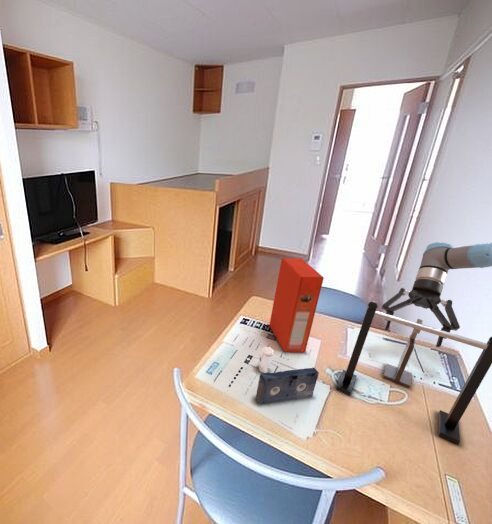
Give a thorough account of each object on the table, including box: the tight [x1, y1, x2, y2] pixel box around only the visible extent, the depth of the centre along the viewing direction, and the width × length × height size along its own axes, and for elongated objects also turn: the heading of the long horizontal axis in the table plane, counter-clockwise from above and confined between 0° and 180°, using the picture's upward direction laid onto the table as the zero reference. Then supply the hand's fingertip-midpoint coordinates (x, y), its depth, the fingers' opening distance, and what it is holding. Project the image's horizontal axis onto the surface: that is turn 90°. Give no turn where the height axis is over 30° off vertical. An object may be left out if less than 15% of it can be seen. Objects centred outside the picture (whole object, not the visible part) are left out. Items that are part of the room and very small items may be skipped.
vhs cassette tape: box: [255, 367, 320, 405], centre depth 94 cm, size 18×3×10 cm, turn 98°
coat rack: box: [335, 301, 492, 446], centre depth 88 cm, size 29×10×32 cm, turn 48°
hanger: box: [383, 318, 424, 389], centre depth 101 cm, size 7×8×22 cm
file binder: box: [268, 257, 325, 353], centre depth 118 cm, size 8×17×32 cm, turn 177°
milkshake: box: [258, 342, 275, 374], centre depth 106 cm, size 4×5×10 cm
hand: (411, 337), depth 103 cm, fingers open, 13 cm apart
